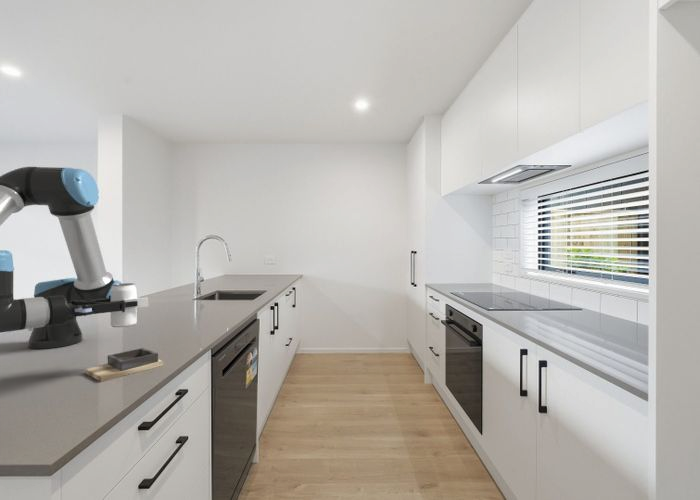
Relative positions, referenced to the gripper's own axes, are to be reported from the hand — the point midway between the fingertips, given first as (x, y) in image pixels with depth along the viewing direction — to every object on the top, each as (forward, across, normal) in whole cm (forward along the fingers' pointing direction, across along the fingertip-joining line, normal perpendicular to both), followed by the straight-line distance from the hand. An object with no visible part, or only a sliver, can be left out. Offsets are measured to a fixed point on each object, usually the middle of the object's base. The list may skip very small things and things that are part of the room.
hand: (142, 300), depth 109 cm
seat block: (-6, +3, -19) cm, 20 cm away
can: (-5, 0, -7) cm, 8 cm away
